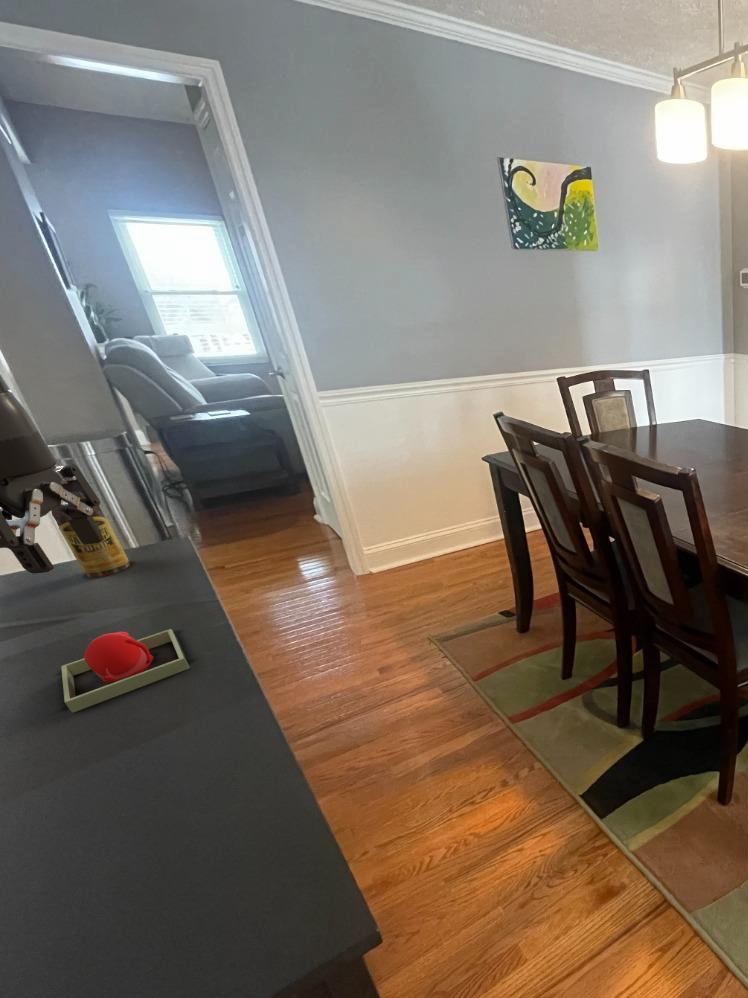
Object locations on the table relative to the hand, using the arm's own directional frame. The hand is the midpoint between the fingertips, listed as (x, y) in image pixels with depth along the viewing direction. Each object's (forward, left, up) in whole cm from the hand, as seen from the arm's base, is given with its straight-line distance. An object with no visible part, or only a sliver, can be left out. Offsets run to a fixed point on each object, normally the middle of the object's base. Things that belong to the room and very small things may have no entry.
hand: (69, 556), depth 78 cm
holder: (-1, -1, -18) cm, 18 cm away
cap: (-1, -1, -18) cm, 18 cm away
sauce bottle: (-27, +37, -18) cm, 49 cm away
